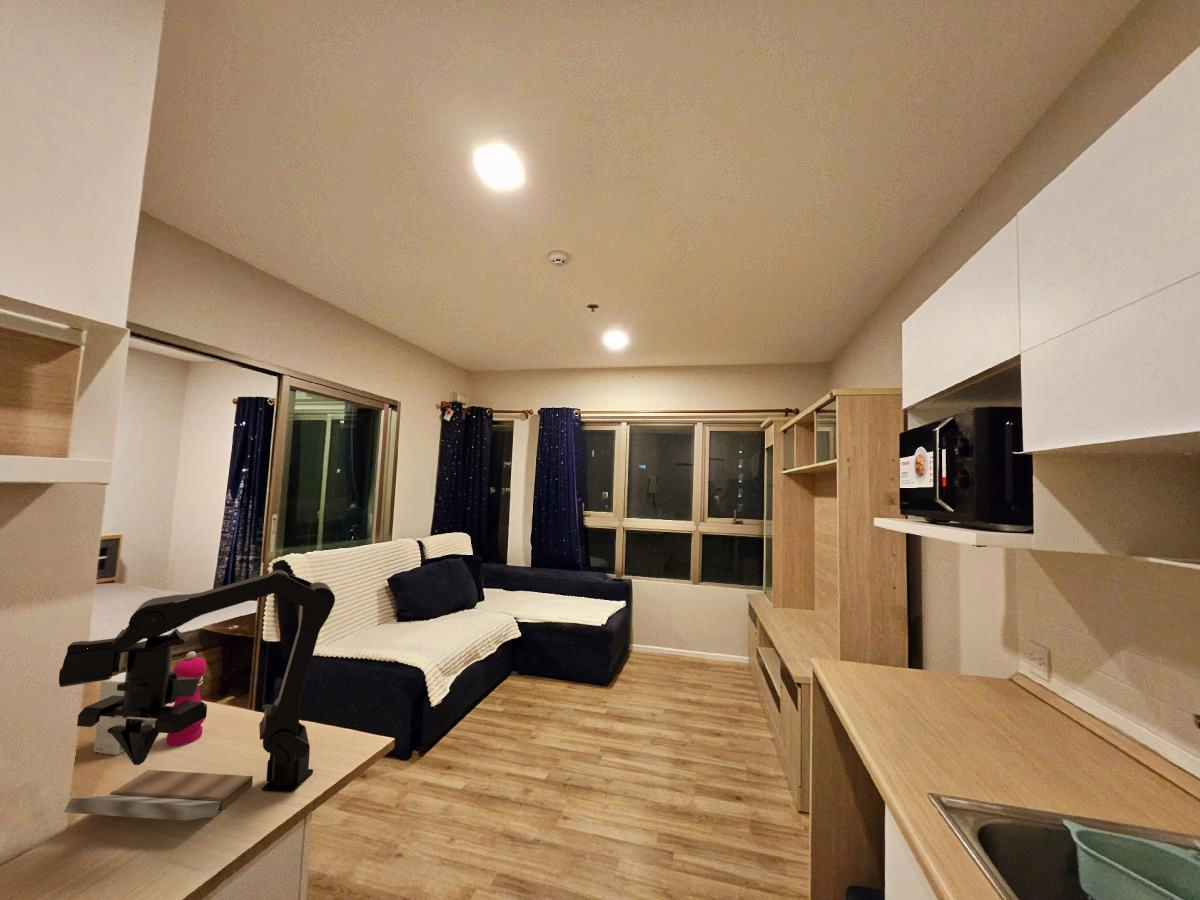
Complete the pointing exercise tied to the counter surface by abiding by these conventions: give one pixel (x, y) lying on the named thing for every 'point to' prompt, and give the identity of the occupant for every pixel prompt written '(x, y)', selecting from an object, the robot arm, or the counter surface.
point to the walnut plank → (187, 786)
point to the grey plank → (143, 807)
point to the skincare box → (108, 718)
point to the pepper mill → (188, 698)
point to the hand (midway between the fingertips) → (139, 763)
